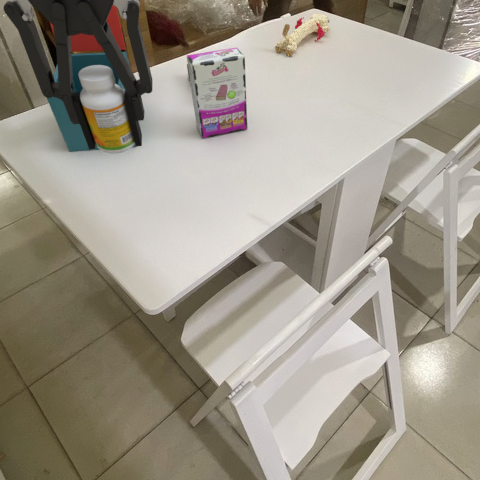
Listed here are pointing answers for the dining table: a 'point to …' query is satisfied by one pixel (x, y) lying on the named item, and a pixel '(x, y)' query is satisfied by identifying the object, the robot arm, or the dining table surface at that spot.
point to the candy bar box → (218, 91)
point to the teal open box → (79, 61)
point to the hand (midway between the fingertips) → (116, 141)
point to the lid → (89, 42)
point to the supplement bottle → (105, 109)
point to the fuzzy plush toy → (302, 32)
